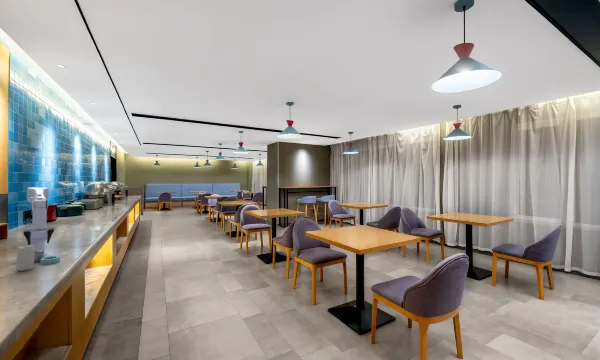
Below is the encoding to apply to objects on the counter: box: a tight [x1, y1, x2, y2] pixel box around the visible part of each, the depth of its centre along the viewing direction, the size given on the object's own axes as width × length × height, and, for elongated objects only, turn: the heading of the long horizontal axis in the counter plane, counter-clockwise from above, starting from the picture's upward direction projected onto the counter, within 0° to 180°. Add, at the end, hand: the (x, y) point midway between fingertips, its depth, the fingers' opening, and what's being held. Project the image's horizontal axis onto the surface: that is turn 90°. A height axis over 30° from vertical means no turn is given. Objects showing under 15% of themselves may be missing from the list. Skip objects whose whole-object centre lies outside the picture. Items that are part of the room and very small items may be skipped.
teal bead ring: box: [39, 255, 61, 265], centre depth 151 cm, size 8×8×2 cm
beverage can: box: [15, 245, 35, 272], centre depth 138 cm, size 6×6×12 cm
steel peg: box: [34, 250, 45, 263], centre depth 152 cm, size 4×4×6 cm
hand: (38, 244), depth 151 cm, fingers open, 7 cm apart
